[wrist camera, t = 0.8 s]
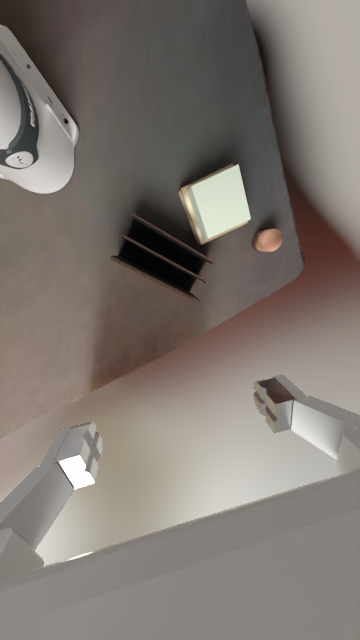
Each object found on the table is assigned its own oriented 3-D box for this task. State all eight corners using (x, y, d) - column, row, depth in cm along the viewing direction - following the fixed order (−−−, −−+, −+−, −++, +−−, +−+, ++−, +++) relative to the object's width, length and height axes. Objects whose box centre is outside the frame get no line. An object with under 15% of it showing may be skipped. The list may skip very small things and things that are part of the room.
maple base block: (178, 193, 43) (181, 188, 39) (225, 170, 43) (232, 163, 39) (197, 245, 47) (201, 244, 44) (239, 224, 47) (247, 222, 44)
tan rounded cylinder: (249, 235, 48) (260, 234, 44) (267, 227, 48) (280, 224, 43) (254, 254, 50) (265, 255, 45) (271, 246, 50) (284, 245, 45)
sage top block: (186, 192, 39) (191, 186, 36) (229, 172, 39) (238, 164, 36) (202, 239, 43) (208, 238, 39) (242, 221, 43) (250, 219, 40)
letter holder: (187, 293, 51) (202, 308, 38) (117, 257, 45) (105, 261, 32) (206, 259, 49) (228, 263, 36) (134, 216, 42) (129, 203, 30)
